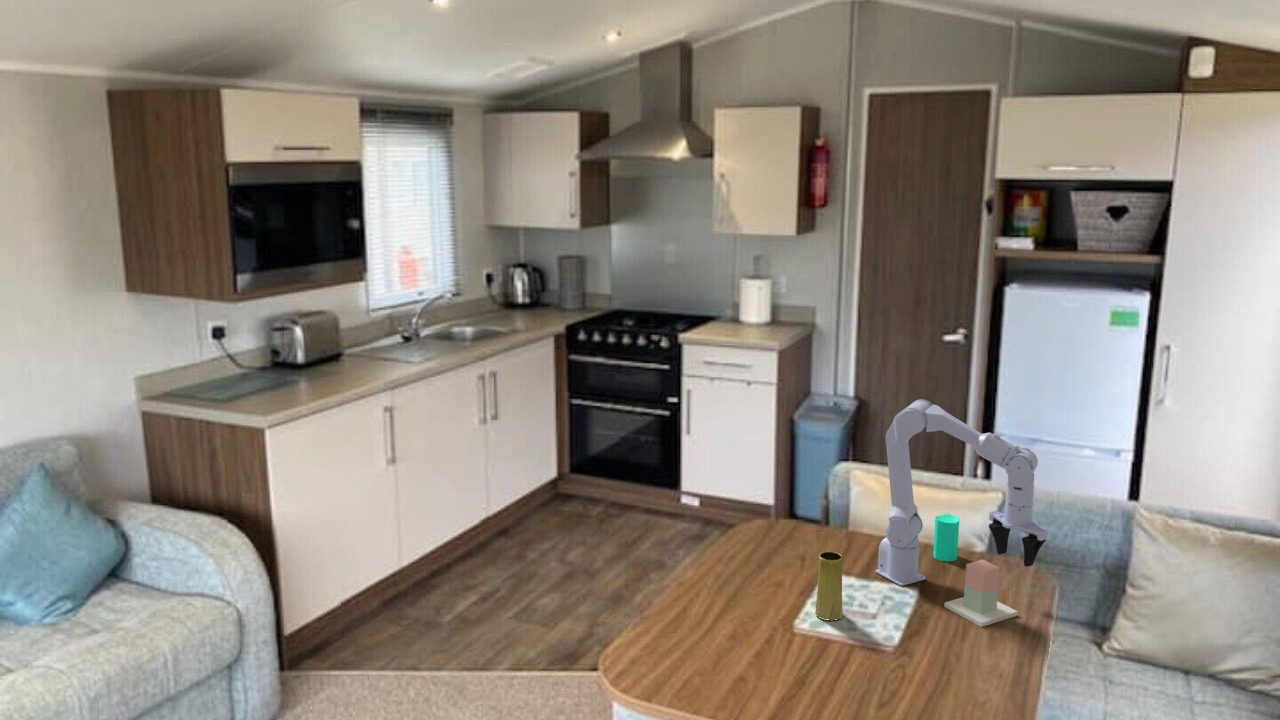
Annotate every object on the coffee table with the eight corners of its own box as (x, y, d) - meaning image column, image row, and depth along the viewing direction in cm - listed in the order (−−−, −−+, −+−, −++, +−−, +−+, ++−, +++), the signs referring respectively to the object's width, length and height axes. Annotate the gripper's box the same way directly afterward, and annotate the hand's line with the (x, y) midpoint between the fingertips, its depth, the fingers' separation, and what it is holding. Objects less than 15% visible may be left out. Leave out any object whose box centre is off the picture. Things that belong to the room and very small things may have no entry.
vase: (811, 618, 215) (813, 558, 212) (819, 606, 220) (821, 548, 217) (838, 623, 212) (840, 563, 209) (846, 612, 218) (848, 553, 215)
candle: (954, 552, 249) (957, 508, 247) (959, 561, 243) (962, 517, 241) (930, 551, 250) (933, 508, 247) (935, 561, 244) (937, 516, 241)
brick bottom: (963, 605, 218) (964, 584, 217) (979, 600, 220) (980, 580, 219) (980, 614, 214) (981, 593, 213) (996, 609, 216) (998, 588, 215)
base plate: (944, 606, 219) (944, 602, 219) (979, 596, 224) (979, 592, 224) (981, 627, 210) (981, 622, 210) (1017, 615, 215) (1017, 611, 215)
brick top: (965, 584, 217) (966, 564, 216) (981, 579, 219) (982, 559, 218) (982, 593, 213) (983, 572, 212) (998, 588, 215) (999, 567, 214)
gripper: (981, 496, 221) (977, 551, 224) (1033, 516, 209) (1028, 574, 211) (1003, 491, 224) (999, 545, 227) (1055, 510, 212) (1050, 568, 215)
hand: (1015, 559), depth 219 cm, fingers open, 7 cm apart
